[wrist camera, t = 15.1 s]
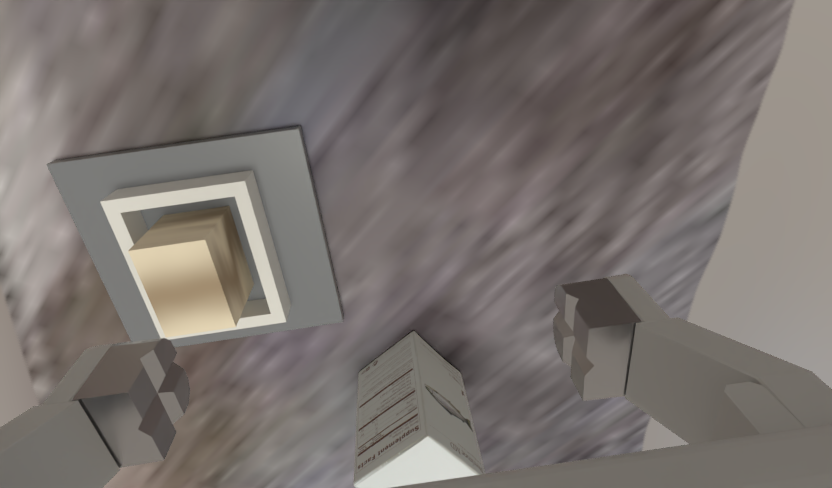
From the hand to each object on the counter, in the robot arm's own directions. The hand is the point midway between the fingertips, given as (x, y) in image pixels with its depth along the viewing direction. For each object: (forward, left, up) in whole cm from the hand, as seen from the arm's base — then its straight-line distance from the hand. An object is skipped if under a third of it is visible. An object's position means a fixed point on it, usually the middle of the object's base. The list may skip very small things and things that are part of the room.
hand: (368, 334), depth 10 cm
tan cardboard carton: (+9, -14, -27) cm, 32 cm away
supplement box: (+25, 0, -28) cm, 38 cm away
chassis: (+9, -14, -28) cm, 33 cm away
